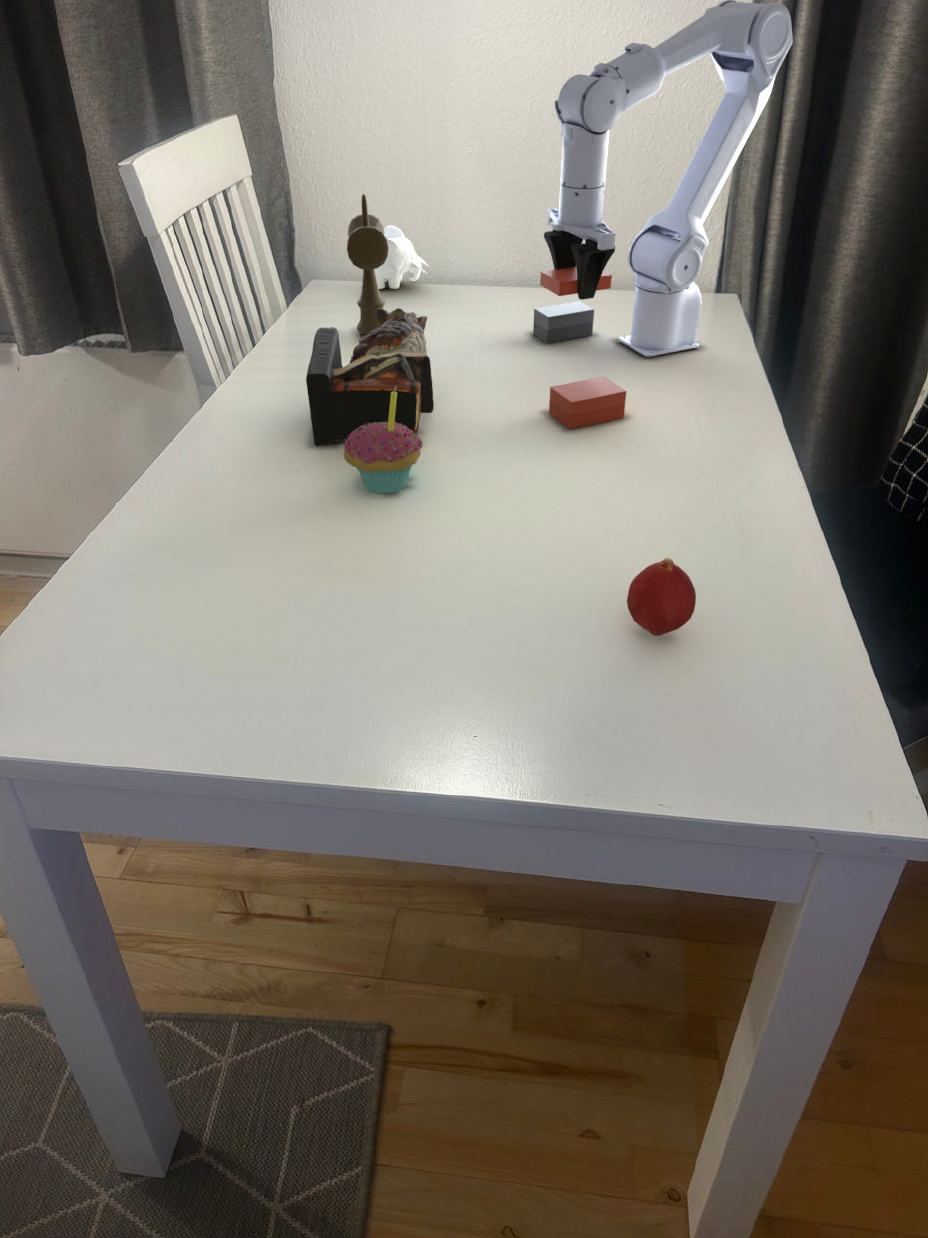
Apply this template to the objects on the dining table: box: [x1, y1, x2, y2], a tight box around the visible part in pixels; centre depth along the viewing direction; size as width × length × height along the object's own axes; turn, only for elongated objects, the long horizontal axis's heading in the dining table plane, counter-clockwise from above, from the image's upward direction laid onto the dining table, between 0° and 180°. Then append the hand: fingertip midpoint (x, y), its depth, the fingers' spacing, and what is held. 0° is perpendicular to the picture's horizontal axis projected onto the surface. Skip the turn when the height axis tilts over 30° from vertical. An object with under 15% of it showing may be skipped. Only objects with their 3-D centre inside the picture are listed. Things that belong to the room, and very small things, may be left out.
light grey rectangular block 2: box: [533, 300, 595, 330], centre depth 139 cm, size 8×4×2 cm, turn 115°
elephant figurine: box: [374, 224, 430, 290], centre depth 159 cm, size 10×12×9 cm
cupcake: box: [343, 386, 423, 495], centre depth 100 cm, size 9×8×12 cm
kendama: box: [346, 193, 389, 336], centre depth 137 cm, size 6×10×20 cm, turn 7°
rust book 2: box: [549, 376, 627, 416], centre depth 116 cm, size 8×5×2 cm
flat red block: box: [539, 267, 613, 297], centre depth 124 cm, size 8×5×2 cm
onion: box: [626, 557, 697, 637], centre depth 79 cm, size 6×6×8 cm
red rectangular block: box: [548, 400, 626, 430], centre depth 117 cm, size 8×5×2 cm
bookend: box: [305, 308, 435, 446], centre depth 118 cm, size 15×11×25 cm
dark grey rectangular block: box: [532, 321, 594, 344], centre depth 140 cm, size 8×4×2 cm, turn 115°
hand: (575, 291), depth 125 cm, fingers closed on flat red block, 5 cm apart
